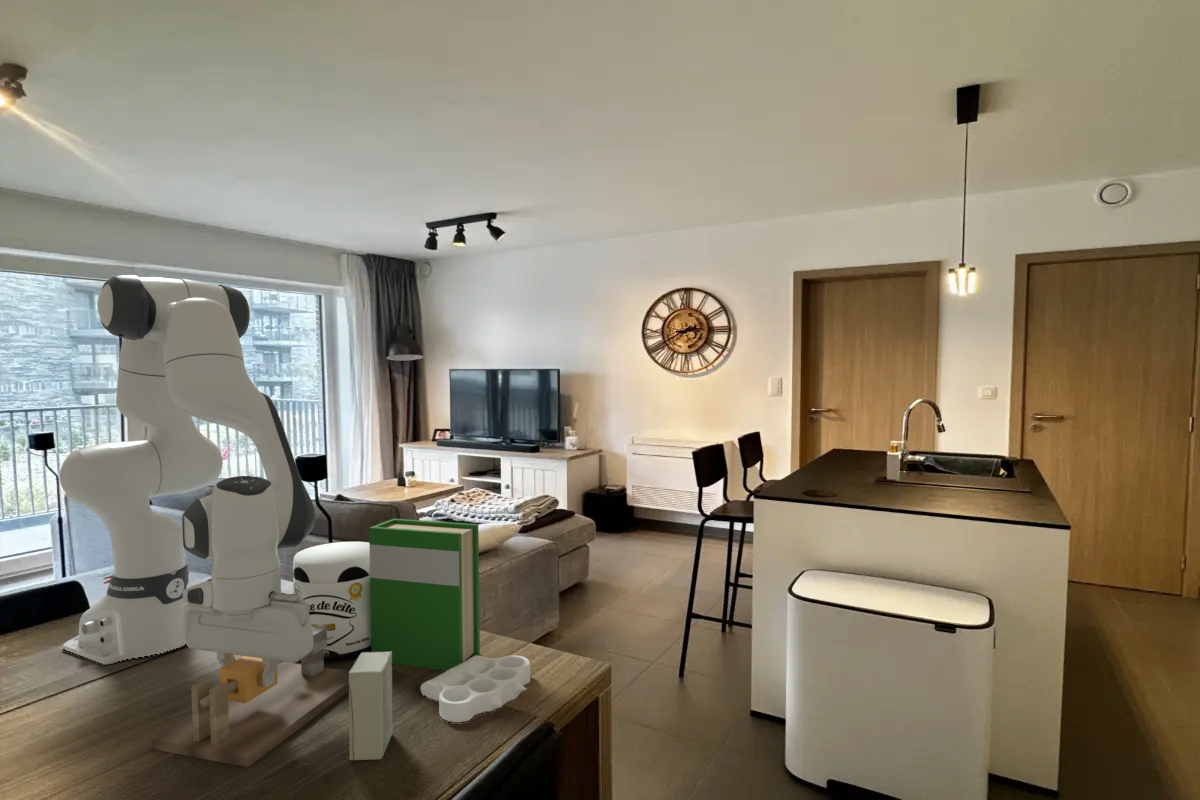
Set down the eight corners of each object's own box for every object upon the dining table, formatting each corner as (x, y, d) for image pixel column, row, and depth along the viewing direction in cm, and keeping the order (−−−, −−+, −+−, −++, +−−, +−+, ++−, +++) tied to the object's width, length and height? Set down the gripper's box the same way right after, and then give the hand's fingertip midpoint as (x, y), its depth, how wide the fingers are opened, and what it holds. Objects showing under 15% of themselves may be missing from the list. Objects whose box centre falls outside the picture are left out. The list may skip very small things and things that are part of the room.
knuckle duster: (484, 663, 114) (550, 684, 106) (404, 707, 99) (474, 736, 91) (484, 644, 114) (549, 664, 106) (404, 686, 98) (473, 713, 91)
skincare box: (362, 735, 90) (360, 651, 90) (394, 733, 91) (392, 650, 90) (348, 762, 84) (346, 672, 83) (382, 760, 84) (381, 670, 84)
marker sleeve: (220, 699, 91) (219, 669, 91) (253, 679, 97) (252, 651, 96) (245, 703, 90) (244, 672, 90) (277, 683, 95) (276, 654, 95)
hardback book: (479, 654, 116) (478, 524, 115) (460, 672, 109) (458, 534, 108) (395, 643, 121) (393, 518, 120) (371, 660, 114) (369, 527, 113)
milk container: (300, 676, 108) (298, 571, 107) (281, 642, 122) (279, 549, 121) (401, 650, 118) (400, 554, 117) (373, 621, 132) (371, 535, 131)
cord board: (151, 749, 87) (149, 684, 87) (281, 670, 110) (280, 619, 110) (248, 767, 83) (246, 699, 82) (361, 681, 106) (361, 628, 106)
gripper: (322, 588, 93) (324, 681, 93) (210, 577, 98) (212, 665, 99) (290, 603, 87) (293, 702, 87) (173, 590, 92) (175, 684, 93)
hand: (249, 682), depth 93 cm, fingers closed on marker sleeve, 4 cm apart
